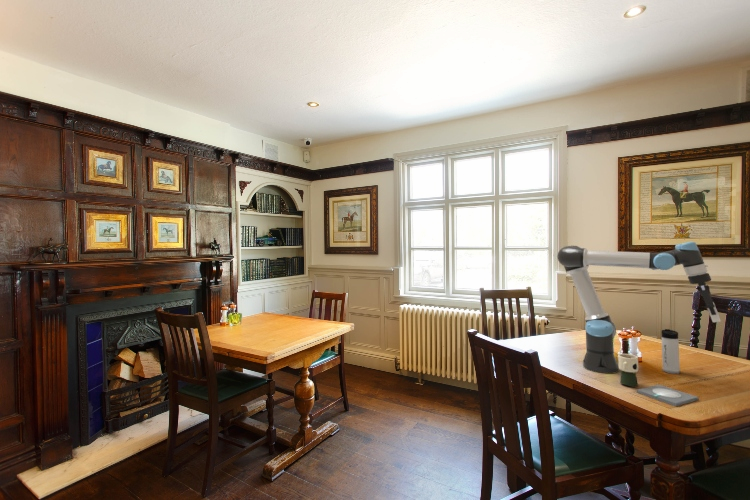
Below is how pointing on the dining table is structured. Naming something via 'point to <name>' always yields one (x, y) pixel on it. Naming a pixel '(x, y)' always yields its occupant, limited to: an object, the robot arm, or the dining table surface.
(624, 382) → the character mug
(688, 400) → the charging pad
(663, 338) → the travel mug
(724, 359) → the dining table surface
